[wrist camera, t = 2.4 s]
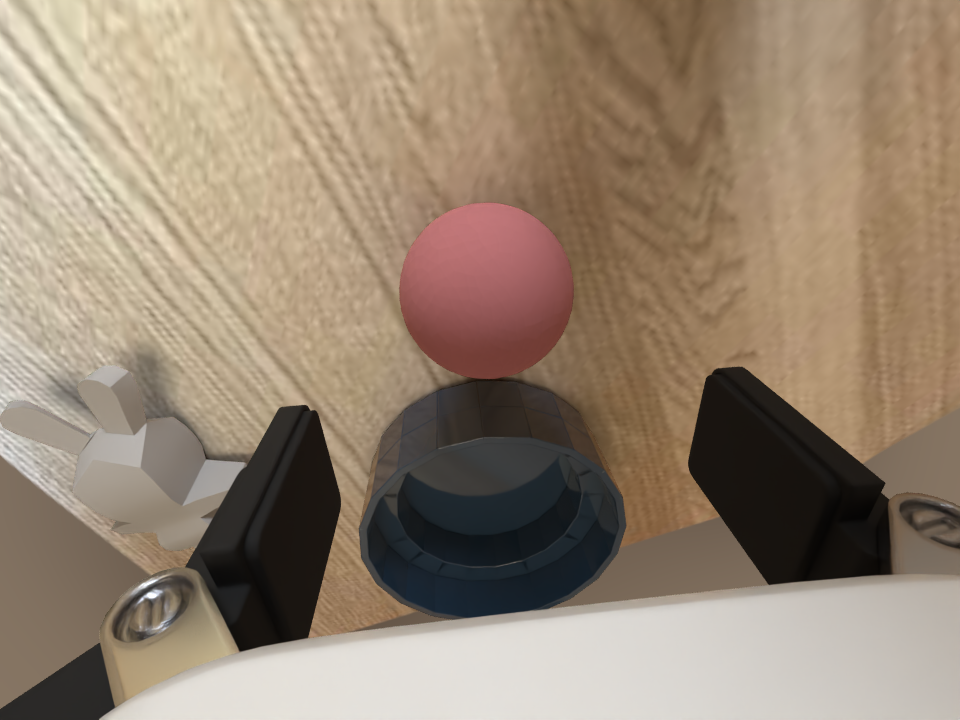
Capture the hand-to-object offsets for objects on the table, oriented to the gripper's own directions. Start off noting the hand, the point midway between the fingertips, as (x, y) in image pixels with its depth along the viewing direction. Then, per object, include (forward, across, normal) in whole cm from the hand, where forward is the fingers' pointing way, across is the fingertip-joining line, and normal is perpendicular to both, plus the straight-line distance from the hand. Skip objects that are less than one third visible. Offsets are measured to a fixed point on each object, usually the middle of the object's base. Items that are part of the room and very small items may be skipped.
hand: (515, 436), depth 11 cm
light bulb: (+18, 0, 0) cm, 18 cm away
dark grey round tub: (+18, 0, +17) cm, 25 cm away
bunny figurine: (+18, +22, +12) cm, 31 cm away
